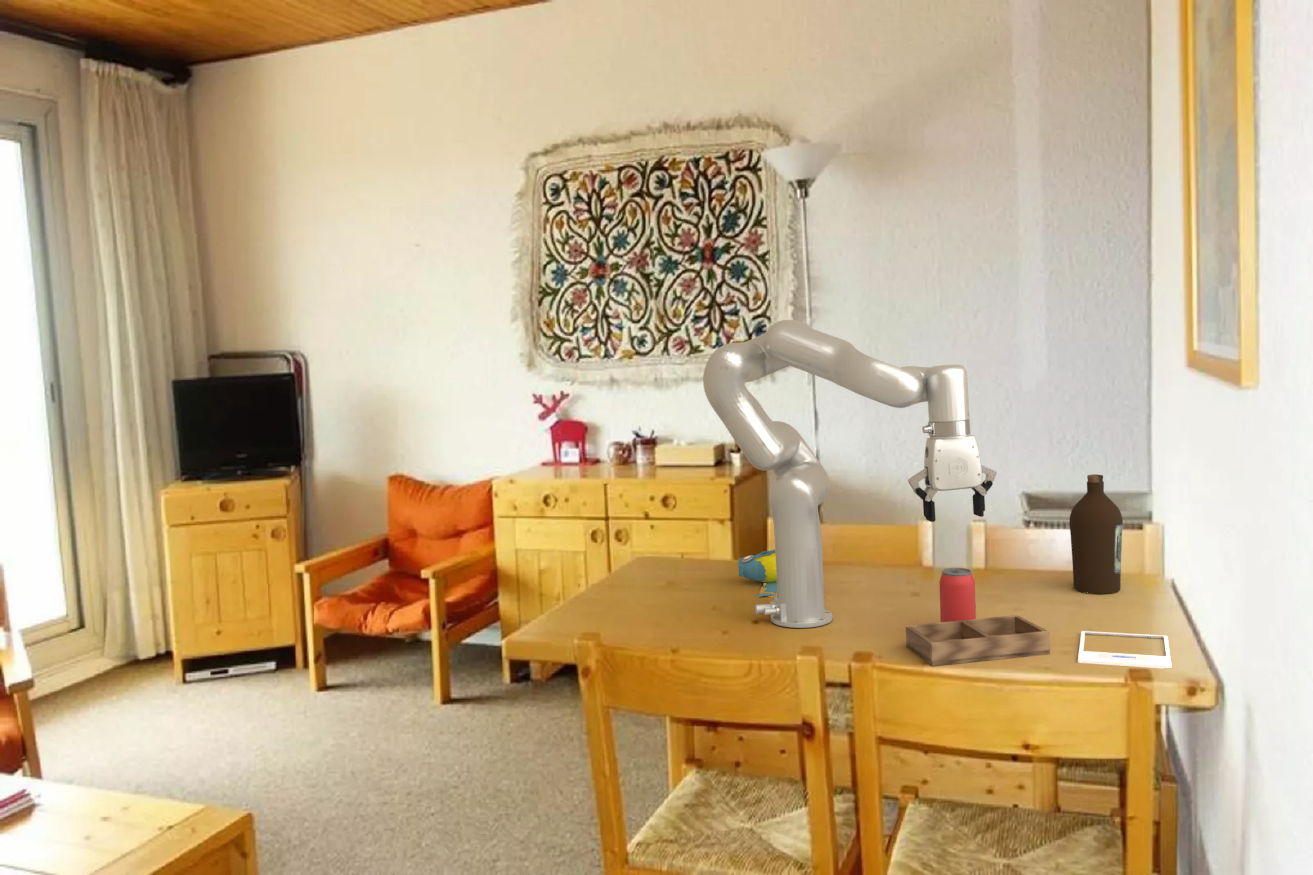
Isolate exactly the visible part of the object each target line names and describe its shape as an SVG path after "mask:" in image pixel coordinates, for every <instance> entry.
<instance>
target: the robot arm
mask: <svg viewBox="0 0 1313 875" xmlns="http://www.w3.org/2000/svg"><path fill="white" fill-rule="evenodd" d="M788 367H792V368H795V369H798V370H801V371H804V372H806V373H809V374H811V375H814V376H816V377H819V378H821V379H824V380H827V381H830V382H832V383H833V384H835V385H837V386H840V387H841V388H844V389H847V390H848V391H851V392H853V393H854V394H857V395H859V396H862V397H864V398H867V399H869V400H872V401H875V402H878V403H880V404H883V405H886V406H888V407H892V408H898V409H904V408H908V407H911V406H914V405H916V404H919V403H924V402H927V410H928V411H927V412H928V422H927V425H925V426H922V428H921V431H922V433H923V434H928V436H929V437H927V438H926V441H925V446H924V447H925V448H924V461H923V462H924V463H923V469H922V470H920V471H919V472H917V473H915V474H914V475H913V476H911V477H909V478H908V480H907V482H908V484H909V485H910V487H911V489H912V491H913V493H914V494H915V495H917V496H918V497H919V498H920V499H921V500H922V508H923V517H924V518H925V520H926V521H927V522H931V523H933V522H935V521H936V507H935V505H936V503H935V501H934V500H933V498H934V497H935V496H936V494H937V492H938V491H940V492H945V491H947V492H948V491H956V490H967V489H971V490H972V491H973V493H974V494H972V509H973V510H972V512H973V515H974V516H976V517H977V516H978V517H980V518H983V517H984V516H985V514H984V512H985V511H986V502H985V501H986V500H985V499H986V498H985V496H987V494H988V492H989V490H990V489H991V488H992V487H993V485H994V483H993V482H994V481H995V479H996V476H997V471H996V470H994V469H991V468H990V467H987V466H984V465H982V463H981V455H980V450H979V446H978V441H977V438H976V435H975V434H971V422H970V404H969V385H968V373H967V369H966V368H965V366H964V365H961V364H944V365H934V366H929V367H928V366H914V365H911V366H909V365H908V366H902V367H899V366H896V365H893V364H891V363H887V362H885V361H882V360H879V359H877V358H874V357H872V356H869V355H868V354H865V353H863V352H861V351H860V350H858V349H857V348H856V347H855V346H854V344H852V343H851V342H849V341H847V340H845V339H843V338H839V337H837V336H834V335H831V334H828V333H826V332H822V331H819V330H817V329H814V328H812V327H811V326H810V325H809V324H808V323H806V322H804V321H802V320H799V319H783V320H779V321H776V322H774V323H773V324H771V326H769V327H768V329H767V330H766V332H765V333H763V334H761V335H758V336H756V337H753V338H752V339H749V340H747V341H744V342H742V341H741V342H731V343H727V344H723V345H722V346H720V347H718V348H717V349H716V350H714V351H713V353H712V354H711V355H710V356H709V357H708V360H707V361H706V364H705V367H704V370H703V378H702V382H703V383H702V384H703V389H704V390H703V391H704V394H705V396H706V399H707V401H708V403H709V404H710V406H711V408H712V409H713V411H714V413H716V415H717V416H718V418H719V419H720V421H722V423H723V425H724V426H725V428H726V429H727V431H728V433H729V434H730V436H731V437H732V438H733V440H734V442H735V443H736V444H737V446H738V447H739V449H740V450H741V452H742V453H743V455H744V456H745V457H746V459H747V460H748V462H749V464H750V465H752V466H753V467H754V468H755V469H757V470H760V471H764V472H765V471H766V472H767V471H773V473H774V474H775V475H776V477H775V479H773V482H772V484H771V487H770V489H769V490H770V491H769V505H770V509H771V514H772V522H773V533H774V535H773V536H774V549H775V553H776V576H777V597H775V598H773V601H770V602H769V603H765V604H764V603H760V604H759V603H757V604H754V611H755V614H756V615H759V614H763V615H765V616H767V615H768V616H770V621H771V622H772V623H773V624H774V625H777V626H780V627H785V628H791V629H794V628H795V629H805V628H806V629H808V628H815V627H821V626H825V625H827V624H829V623H831V622H832V621H833V613H832V612H831V611H829V610H828V609H825V593H824V588H825V587H824V565H823V562H824V561H823V543H822V542H823V541H822V528H821V521H820V515H819V505H821V504H822V503H823V502H824V501H825V500H826V499H827V498H828V496H829V493H830V490H831V482H830V481H831V480H830V476H829V475H828V473H827V471H826V469H825V467H823V465H822V463H821V462H820V460H819V459H818V457H817V456H816V454H815V453H814V452H813V451H812V449H811V448H810V446H809V445H808V443H807V442H806V441H805V439H804V438H803V437H802V435H801V434H800V433H799V431H798V430H796V429H795V427H794V426H792V425H791V424H789V423H787V422H784V421H782V420H781V421H778V420H772V418H770V416H769V415H768V414H767V412H766V411H765V410H764V408H763V407H762V405H761V403H760V402H759V400H757V398H756V397H755V396H754V395H753V394H752V393H751V392H750V391H749V389H747V386H746V383H751V382H754V381H757V380H760V379H763V378H764V377H767V376H769V375H771V374H774V373H776V372H779V371H781V370H784V369H786V368H788ZM983 474H984V475H985V479H984V480H983ZM922 480H924V484H925V486H926V487H925V488H924V489H922V488H921V486H920V485H919V484H920V482H921V481H922Z"/></svg>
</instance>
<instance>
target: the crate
mask: <svg viewBox="0 0 1313 875" xmlns="http://www.w3.org/2000/svg"><path fill="white" fill-rule="evenodd" d="M1050 633H1051V632H1050V631H1048V630H1046V629H1044V628H1043V627H1041V626H1039V625H1037V624H1035V623H1033V622H1031V621H1029V620H1027V619H1025V618H1023V617H1022V616H1019V615H1017V614H1012V615H1004V616H1003V615H1002V616H993V617H983V618H982V617H981V618H976V619H971V620H961V621H951V622H941V621H940V622H932V623H923V624H913V625H912V624H911V625H905V646H906V648H907V649H908V650H910V651H911V652H913V654H915V655H916V656H918V657H919V658H921V659H922V660H923V661H925V662H926V663H928V664H929V665H930V666H931V667H938V666H940V667H941V666H946V665H950V666H951V665H958V664H967V663H978V662H984V661H985V662H987V661H994V660H1005V659H1015V658H1016V659H1017V658H1025V657H1035V656H1043V655H1045V656H1046V655H1050V654H1051V642H1050V641H1051V640H1050V637H1051V636H1050Z"/></svg>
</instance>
